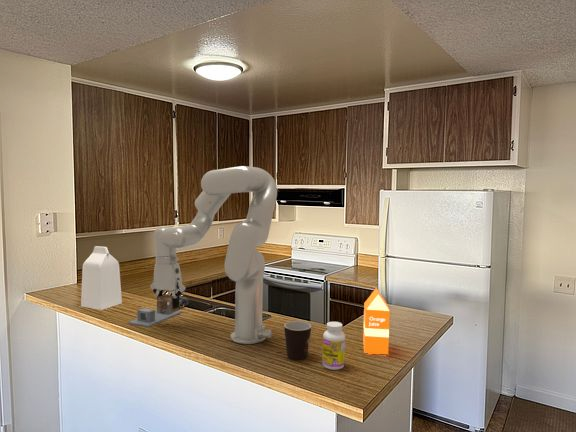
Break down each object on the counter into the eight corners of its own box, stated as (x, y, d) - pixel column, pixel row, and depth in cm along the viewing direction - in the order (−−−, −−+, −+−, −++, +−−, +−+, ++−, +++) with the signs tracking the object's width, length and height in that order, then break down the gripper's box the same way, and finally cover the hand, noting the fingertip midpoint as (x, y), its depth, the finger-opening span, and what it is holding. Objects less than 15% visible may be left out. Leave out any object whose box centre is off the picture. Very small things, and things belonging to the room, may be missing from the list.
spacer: (178, 310, 155) (178, 295, 155) (172, 312, 152) (171, 298, 151) (165, 308, 158) (164, 294, 158) (158, 311, 154) (157, 297, 154)
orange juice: (363, 354, 132) (365, 293, 131) (362, 343, 141) (364, 286, 140) (388, 355, 131) (390, 294, 130) (385, 345, 140) (387, 287, 139)
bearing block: (181, 312, 172) (181, 301, 172) (148, 327, 154) (148, 315, 154) (162, 309, 176) (162, 298, 176) (127, 323, 158) (127, 311, 157)
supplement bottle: (318, 366, 122) (319, 324, 121) (328, 359, 128) (329, 319, 127) (338, 372, 119) (339, 329, 118) (348, 364, 124) (349, 323, 123)
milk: (80, 306, 179) (79, 247, 177) (102, 299, 190) (101, 244, 188) (101, 310, 174) (100, 249, 173) (121, 303, 185) (121, 246, 183)
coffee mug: (300, 364, 124) (301, 332, 123) (278, 357, 129) (278, 326, 128) (321, 352, 133) (321, 322, 132) (299, 346, 138) (300, 317, 137)
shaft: (188, 304, 181) (188, 297, 181) (165, 313, 167) (165, 306, 167) (181, 302, 183) (181, 296, 183) (158, 312, 169) (157, 305, 169)
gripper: (191, 259, 154) (193, 306, 155) (155, 257, 161) (157, 302, 162) (178, 262, 147) (180, 311, 148) (141, 260, 154) (143, 307, 155)
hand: (168, 306), depth 155 cm, fingers closed on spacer, 6 cm apart
